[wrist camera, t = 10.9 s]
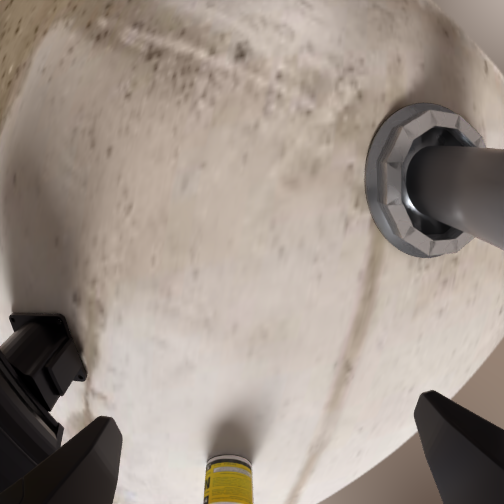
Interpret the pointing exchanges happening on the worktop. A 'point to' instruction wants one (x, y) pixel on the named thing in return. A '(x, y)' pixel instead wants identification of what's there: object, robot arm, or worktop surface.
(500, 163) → the grey cylinder
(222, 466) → the supplement bottle
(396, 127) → the mount ring
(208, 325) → the worktop surface
